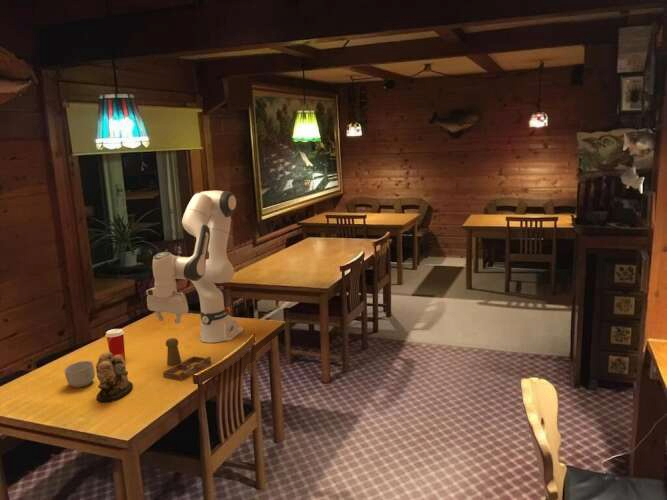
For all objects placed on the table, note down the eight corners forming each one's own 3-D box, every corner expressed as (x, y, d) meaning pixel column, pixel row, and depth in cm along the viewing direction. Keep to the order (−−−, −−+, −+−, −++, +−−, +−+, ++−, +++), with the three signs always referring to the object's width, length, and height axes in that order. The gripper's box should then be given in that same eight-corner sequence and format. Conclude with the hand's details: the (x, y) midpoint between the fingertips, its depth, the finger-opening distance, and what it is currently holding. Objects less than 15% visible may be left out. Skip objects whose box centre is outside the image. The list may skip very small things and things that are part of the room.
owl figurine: (119, 404, 207) (113, 361, 204) (89, 405, 208) (82, 362, 205) (139, 382, 225) (133, 342, 221) (110, 383, 226) (104, 343, 222)
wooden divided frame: (193, 360, 245) (192, 351, 244) (211, 363, 241) (210, 354, 240) (163, 377, 229) (162, 367, 228) (181, 380, 225) (180, 371, 224)
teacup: (92, 388, 222) (89, 369, 220) (63, 391, 220) (60, 372, 219) (100, 374, 236) (97, 356, 234) (73, 377, 234) (70, 359, 232)
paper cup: (115, 357, 253) (111, 328, 251) (131, 357, 252) (127, 328, 249) (105, 364, 246) (101, 334, 243) (121, 364, 244) (117, 334, 241)
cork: (177, 366, 240) (174, 341, 238) (164, 365, 241) (161, 341, 239) (183, 360, 246) (181, 336, 243) (171, 360, 247) (168, 336, 245)
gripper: (190, 290, 235) (193, 322, 237) (154, 287, 244) (157, 317, 247) (179, 294, 229) (182, 326, 232) (143, 290, 239) (146, 321, 241)
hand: (169, 321), depth 239 cm, fingers open, 8 cm apart
